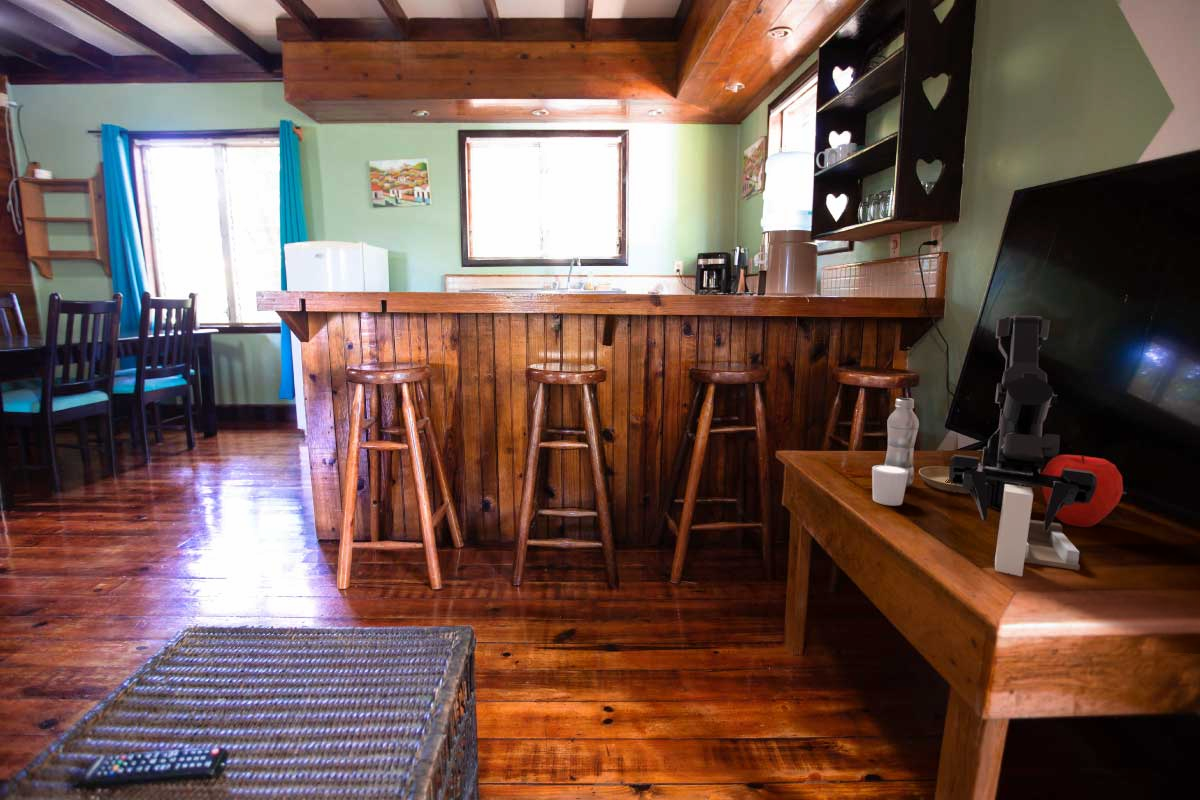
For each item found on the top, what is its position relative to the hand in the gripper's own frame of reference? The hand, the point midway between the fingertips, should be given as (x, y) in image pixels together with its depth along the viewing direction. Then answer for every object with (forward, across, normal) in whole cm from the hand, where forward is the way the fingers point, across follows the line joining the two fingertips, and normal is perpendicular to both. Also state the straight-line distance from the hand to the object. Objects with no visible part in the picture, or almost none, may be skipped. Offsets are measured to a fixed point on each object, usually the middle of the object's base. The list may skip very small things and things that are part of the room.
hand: (1014, 525), depth 88 cm
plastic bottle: (-21, -20, +32) cm, 43 cm away
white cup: (-12, -20, +23) cm, 33 cm away
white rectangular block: (+4, 0, +6) cm, 8 cm away
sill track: (-2, +4, +13) cm, 14 cm away
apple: (-16, +11, +28) cm, 34 cm away
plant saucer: (-26, -9, +37) cm, 46 cm away
